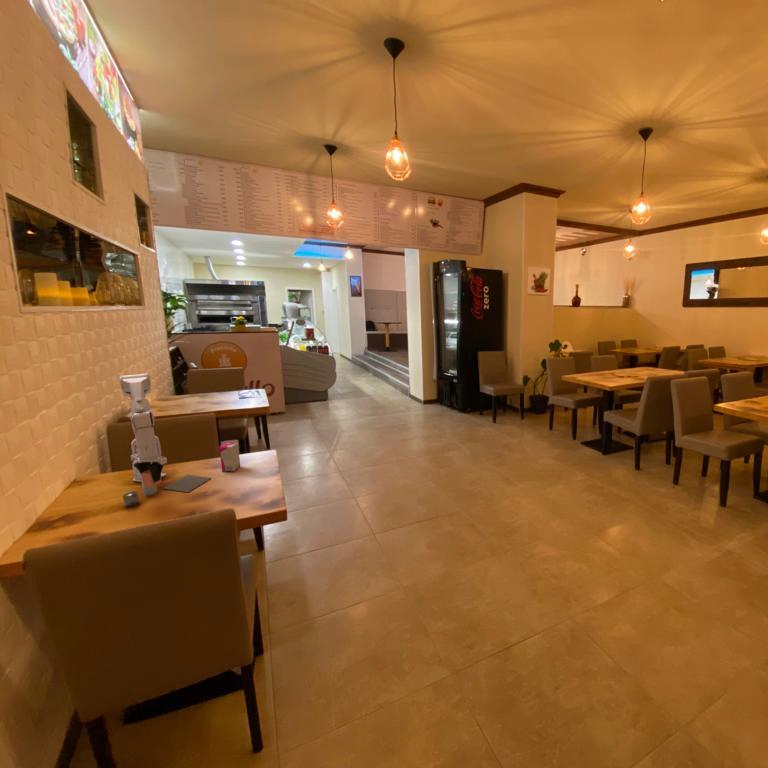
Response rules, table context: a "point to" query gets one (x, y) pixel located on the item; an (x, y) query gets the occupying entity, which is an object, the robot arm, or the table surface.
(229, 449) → the supplement box
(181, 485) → the charcoal mat
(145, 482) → the red block
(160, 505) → the table surface
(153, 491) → the grey domed cylinder
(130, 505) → the metal tin
